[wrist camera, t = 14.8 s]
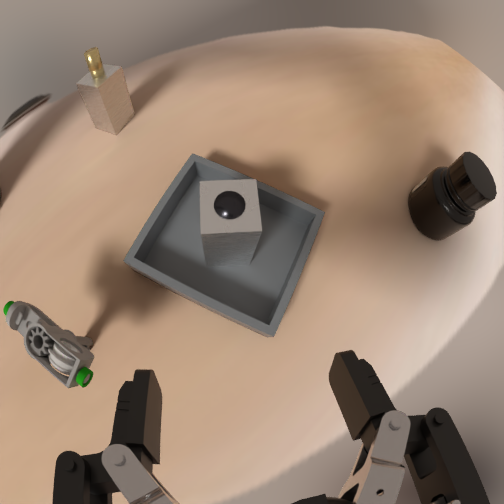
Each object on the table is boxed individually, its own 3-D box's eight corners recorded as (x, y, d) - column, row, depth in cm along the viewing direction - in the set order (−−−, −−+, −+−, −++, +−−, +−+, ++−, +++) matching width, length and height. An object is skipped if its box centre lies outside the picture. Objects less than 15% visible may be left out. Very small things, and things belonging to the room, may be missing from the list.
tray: (133, 269, 29) (123, 260, 25) (195, 168, 33) (193, 151, 30) (267, 337, 28) (273, 336, 25) (315, 223, 33) (325, 210, 29)
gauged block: (95, 128, 34) (67, 61, 21) (114, 108, 36) (92, 41, 23) (116, 135, 34) (89, 62, 21) (134, 114, 35) (115, 42, 23)
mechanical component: (61, 308, 26) (8, 292, 17) (129, 358, 26) (89, 364, 16) (51, 329, 25) (-3, 320, 16) (118, 381, 25) (75, 396, 15)
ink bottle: (446, 197, 37) (492, 160, 26) (453, 247, 34) (508, 217, 23) (401, 180, 37) (447, 133, 25) (406, 233, 34) (463, 193, 23)
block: (206, 267, 29) (200, 233, 20) (204, 227, 31) (199, 180, 21) (249, 264, 30) (262, 230, 21) (245, 225, 31) (256, 178, 22)
